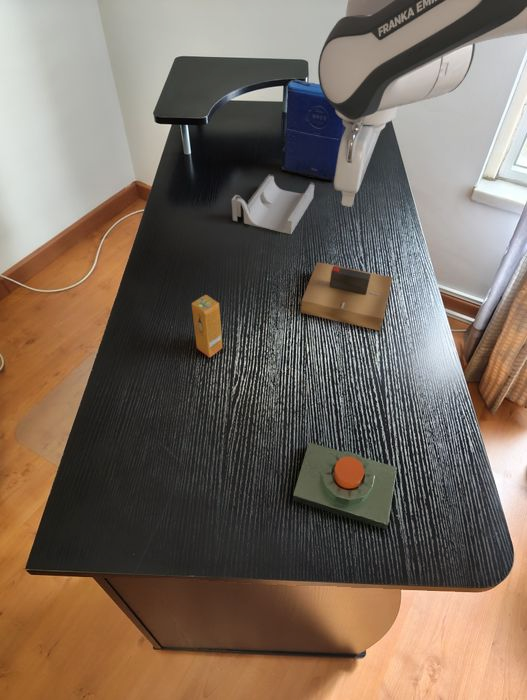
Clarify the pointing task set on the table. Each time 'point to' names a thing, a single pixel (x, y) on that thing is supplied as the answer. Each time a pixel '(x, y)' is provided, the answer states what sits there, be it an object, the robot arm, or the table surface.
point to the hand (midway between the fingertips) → (353, 188)
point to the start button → (348, 472)
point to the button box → (327, 495)
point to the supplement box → (207, 325)
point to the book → (311, 132)
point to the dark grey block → (349, 280)
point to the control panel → (346, 299)
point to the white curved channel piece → (273, 207)
